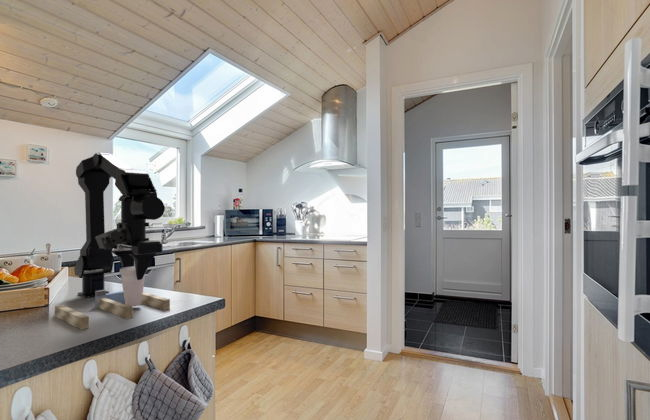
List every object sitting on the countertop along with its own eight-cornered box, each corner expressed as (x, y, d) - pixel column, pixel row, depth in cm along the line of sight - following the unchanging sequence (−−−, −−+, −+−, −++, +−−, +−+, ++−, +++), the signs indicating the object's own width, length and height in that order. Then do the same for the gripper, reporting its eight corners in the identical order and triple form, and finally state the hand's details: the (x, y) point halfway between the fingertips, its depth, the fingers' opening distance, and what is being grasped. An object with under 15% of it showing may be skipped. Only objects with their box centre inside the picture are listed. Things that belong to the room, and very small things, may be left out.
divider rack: (54, 316, 89) (54, 305, 89) (139, 299, 105) (139, 290, 105) (80, 329, 79) (80, 318, 79) (169, 308, 96) (169, 299, 96)
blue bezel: (95, 306, 97) (95, 291, 97) (136, 298, 106) (136, 284, 106) (97, 307, 96) (97, 291, 96) (139, 299, 105) (139, 284, 105)
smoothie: (135, 308, 92) (135, 253, 92) (113, 307, 94) (113, 252, 93) (152, 302, 99) (152, 250, 98) (131, 301, 100) (131, 249, 100)
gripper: (84, 218, 95) (84, 278, 95) (117, 220, 84) (117, 288, 84) (128, 217, 104) (128, 272, 104) (163, 219, 93) (163, 280, 93)
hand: (133, 278), depth 96 cm, fingers closed on smoothie, 6 cm apart
